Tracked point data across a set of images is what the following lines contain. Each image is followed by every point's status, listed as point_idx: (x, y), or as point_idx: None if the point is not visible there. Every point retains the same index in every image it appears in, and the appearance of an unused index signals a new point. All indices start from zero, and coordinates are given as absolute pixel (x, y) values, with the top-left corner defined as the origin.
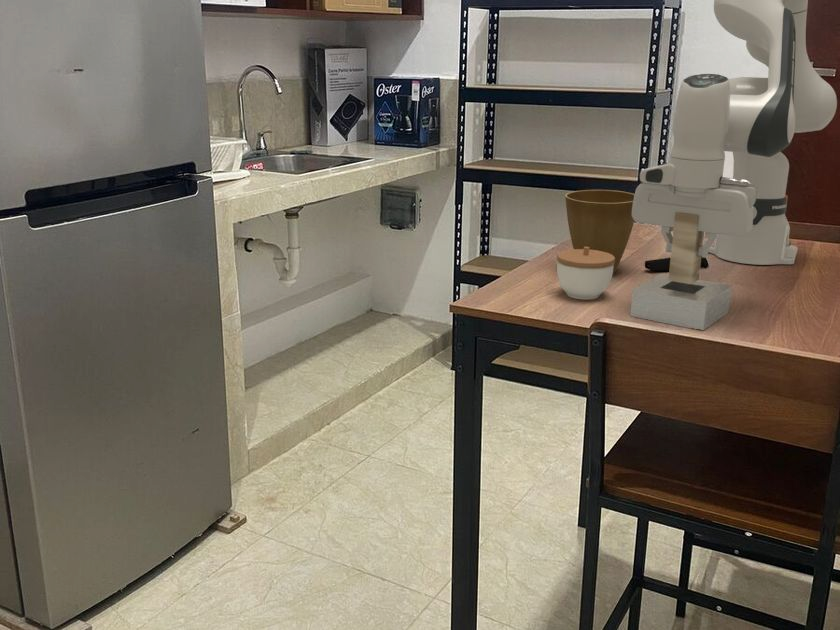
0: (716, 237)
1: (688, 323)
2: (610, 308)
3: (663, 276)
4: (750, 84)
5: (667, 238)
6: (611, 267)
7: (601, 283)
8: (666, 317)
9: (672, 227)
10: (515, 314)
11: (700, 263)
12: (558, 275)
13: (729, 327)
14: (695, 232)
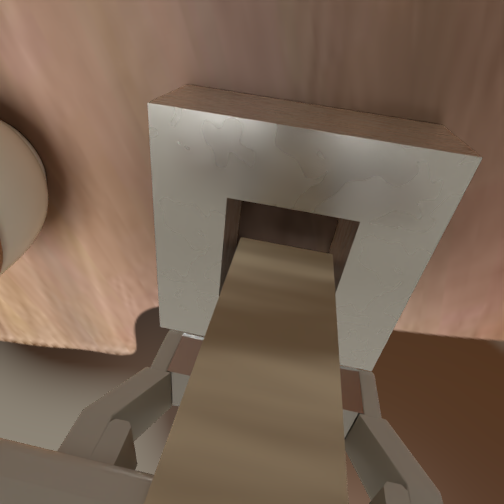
0: (436, 494)
1: None
2: (122, 242)
3: (174, 152)
4: None
5: (148, 423)
6: (1, 221)
7: (37, 230)
8: None
9: (122, 464)
10: (22, 338)
11: (334, 301)
12: None
13: (430, 266)
14: None
